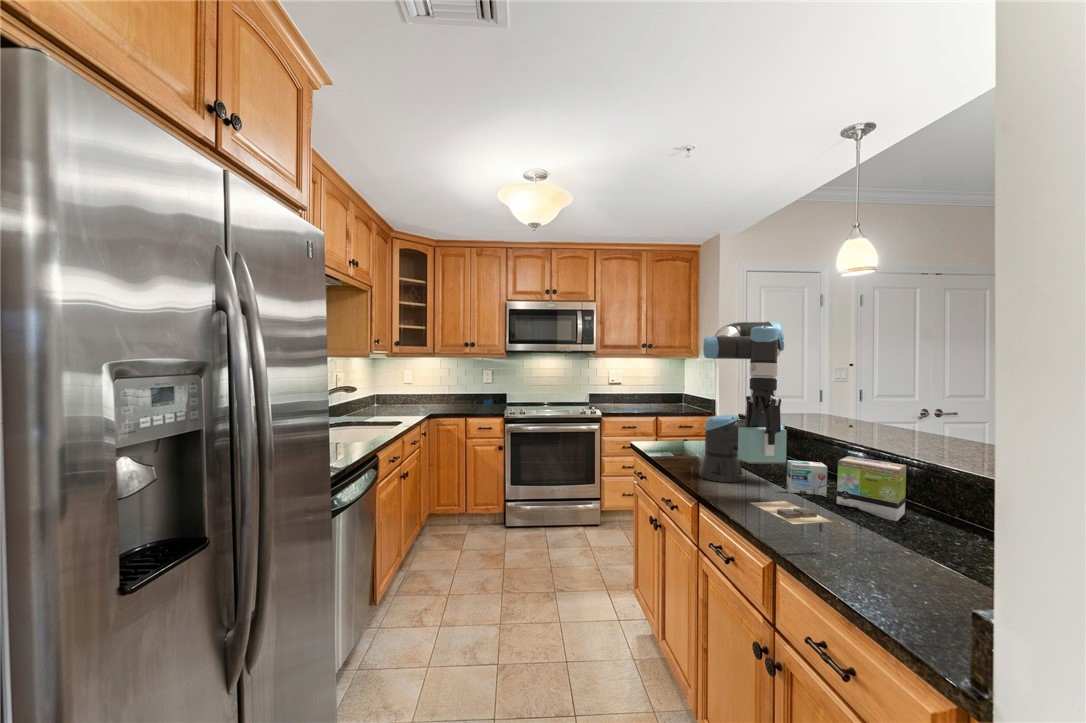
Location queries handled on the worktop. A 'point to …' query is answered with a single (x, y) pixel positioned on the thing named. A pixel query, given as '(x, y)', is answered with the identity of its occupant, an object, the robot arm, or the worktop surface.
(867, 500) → the tea box
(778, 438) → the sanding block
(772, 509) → the birch board
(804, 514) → the chip
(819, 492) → the light bulb box
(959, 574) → the worktop surface
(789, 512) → the chip
